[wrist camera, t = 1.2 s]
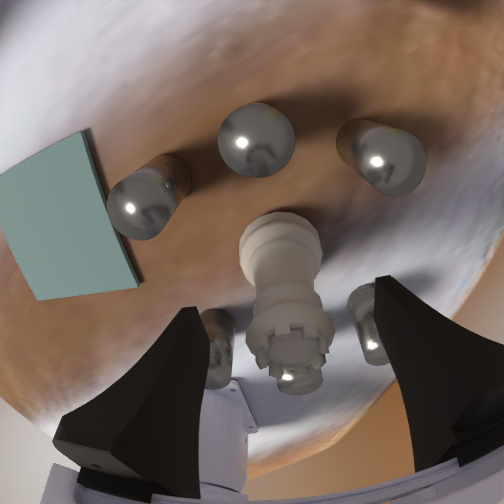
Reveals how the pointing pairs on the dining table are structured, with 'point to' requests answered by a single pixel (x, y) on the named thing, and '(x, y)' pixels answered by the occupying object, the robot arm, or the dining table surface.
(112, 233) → the mat
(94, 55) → the dining table surface
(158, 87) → the dining table surface
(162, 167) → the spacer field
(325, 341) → the rook chess piece
